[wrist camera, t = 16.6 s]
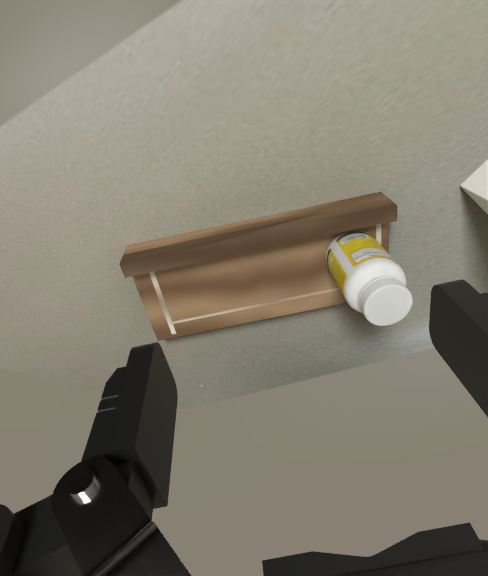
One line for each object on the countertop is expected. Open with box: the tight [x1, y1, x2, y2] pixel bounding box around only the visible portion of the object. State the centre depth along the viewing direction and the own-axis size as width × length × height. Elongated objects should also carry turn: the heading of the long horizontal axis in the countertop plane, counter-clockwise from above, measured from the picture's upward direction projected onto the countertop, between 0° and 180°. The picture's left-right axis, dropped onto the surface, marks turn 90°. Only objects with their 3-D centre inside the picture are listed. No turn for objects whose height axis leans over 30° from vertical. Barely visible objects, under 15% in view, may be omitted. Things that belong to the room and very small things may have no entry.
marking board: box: [120, 192, 397, 341], centre depth 41 cm, size 11×26×4 cm, turn 101°
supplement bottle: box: [326, 230, 412, 326], centre depth 36 cm, size 5×5×10 cm
